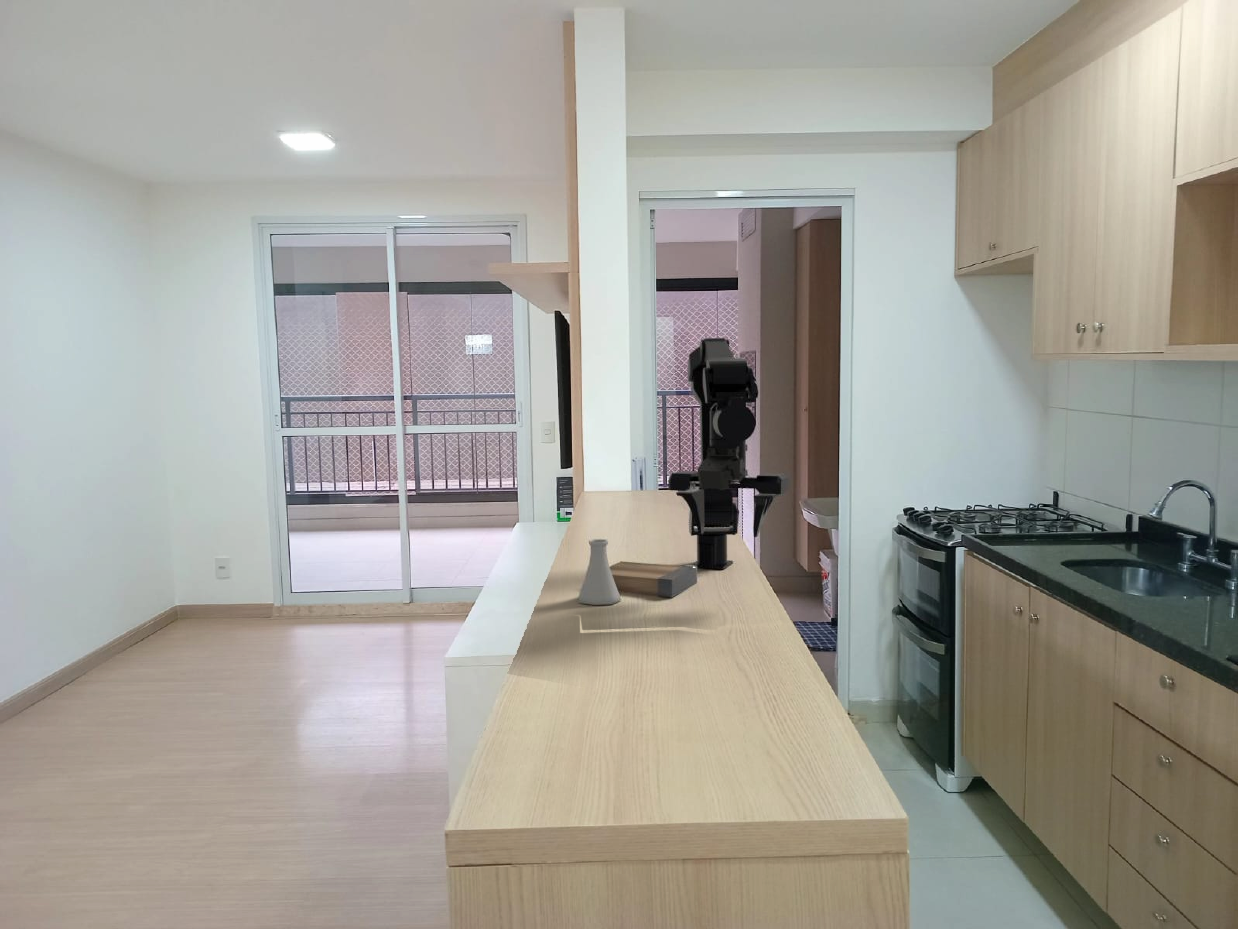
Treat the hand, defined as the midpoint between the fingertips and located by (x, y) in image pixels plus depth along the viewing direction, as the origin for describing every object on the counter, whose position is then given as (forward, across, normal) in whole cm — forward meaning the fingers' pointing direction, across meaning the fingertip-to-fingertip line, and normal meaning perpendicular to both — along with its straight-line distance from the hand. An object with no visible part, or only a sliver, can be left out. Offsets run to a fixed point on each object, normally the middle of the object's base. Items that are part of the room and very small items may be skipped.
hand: (728, 535), depth 139 cm
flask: (+11, -19, -9) cm, 24 cm away
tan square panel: (+10, -17, +3) cm, 20 cm away
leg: (+10, -10, +8) cm, 16 cm away
